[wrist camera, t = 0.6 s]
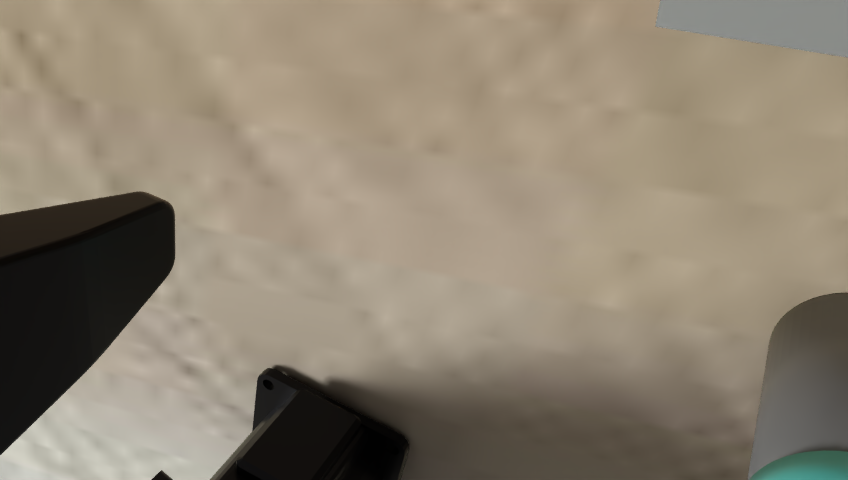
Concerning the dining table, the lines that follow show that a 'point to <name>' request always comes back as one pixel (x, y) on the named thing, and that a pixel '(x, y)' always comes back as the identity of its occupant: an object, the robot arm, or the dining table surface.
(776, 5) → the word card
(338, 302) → the dining table surface
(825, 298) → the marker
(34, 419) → the robot arm
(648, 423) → the dining table surface
